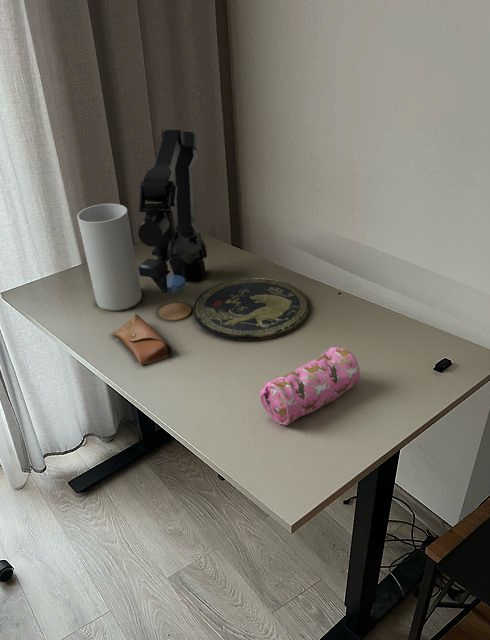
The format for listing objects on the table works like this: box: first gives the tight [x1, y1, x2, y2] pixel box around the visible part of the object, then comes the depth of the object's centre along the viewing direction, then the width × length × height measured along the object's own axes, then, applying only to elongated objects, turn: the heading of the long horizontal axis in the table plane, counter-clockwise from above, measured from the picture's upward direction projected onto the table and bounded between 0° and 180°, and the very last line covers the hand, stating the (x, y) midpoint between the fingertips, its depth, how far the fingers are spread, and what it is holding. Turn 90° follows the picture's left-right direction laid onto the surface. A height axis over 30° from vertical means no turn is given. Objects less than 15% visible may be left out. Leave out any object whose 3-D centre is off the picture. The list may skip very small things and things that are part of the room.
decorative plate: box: [192, 277, 309, 342], centre depth 156 cm, size 30×2×30 cm
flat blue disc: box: [157, 274, 186, 295], centre depth 154 cm, size 7×7×2 cm
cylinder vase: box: [76, 203, 143, 312], centre depth 159 cm, size 12×12×25 cm
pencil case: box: [259, 346, 361, 426], centre depth 122 cm, size 21×9×9 cm, turn 128°
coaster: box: [158, 302, 192, 322], centre depth 159 cm, size 9×9×1 cm
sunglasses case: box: [112, 313, 173, 366], centre depth 146 cm, size 18×7×7 cm, turn 32°
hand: (171, 286), depth 154 cm, fingers closed on flat blue disc, 7 cm apart
